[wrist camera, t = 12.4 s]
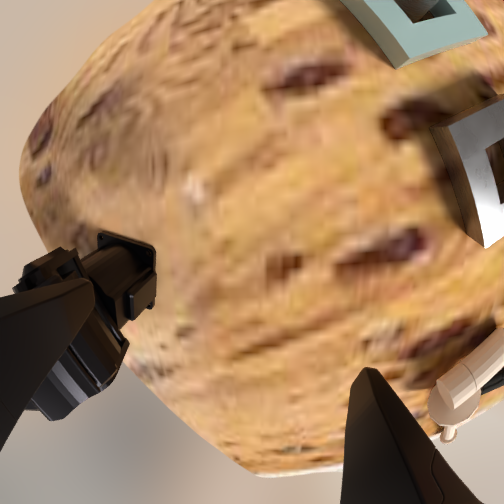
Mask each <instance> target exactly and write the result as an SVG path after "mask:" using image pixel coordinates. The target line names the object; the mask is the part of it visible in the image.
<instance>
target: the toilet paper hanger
mask: <svg viewBox="0 0 504 504" xmlns="http://www.w3.org/2000/svg"><path fill="white" fill-rule="evenodd" d="M503 366H504V328H501V327H498V328H497V329H496V330H494V331H493V332H492V333H491V334H490V335H489V336H488V337H487V338H486V339H485V340H484V341H483V342H482V343H481V344H480V345H479V346H478V347H476V348H475V349H474V350H473V351H472V352H471V353H470V354H469V355H467V356H466V357H465V358H464V359H463V360H461V361H460V362H459V363H458V364H457V365H455V366H454V367H453V368H451V369H450V370H449V371H448V372H446V373H445V374H444V375H442V376H441V377H440V378H438V379H437V381H436V383H437V384H436V385H435V387H434V388H433V389H432V390H431V393H430V396H429V399H428V402H427V406H428V410H429V415H430V418H431V419H432V420H434V421H435V422H436V423H437V424H438V425H439V426H444V431H442V432H441V435H440V441H441V442H442V443H443V444H449V443H451V442H453V441H454V440H455V439H456V435H457V430H456V425H459V424H461V423H463V422H465V421H467V420H468V419H469V418H470V417H471V416H472V414H473V413H474V412H475V411H476V409H477V408H478V405H479V401H480V396H481V389H480V388H481V387H482V386H483V385H484V384H486V383H487V382H488V381H489V380H490V379H491V378H492V377H493V376H494V375H495V374H496V373H497V372H498V371H499V370H500V369H501V368H502V367H503Z"/></svg>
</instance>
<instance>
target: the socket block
mask: <svg viewBox="0 0 504 504" xmlns="http://www.w3.org/2000/svg"><path fill="white" fill-rule="evenodd" d="M429 129H430V131H431V134H432V136H433V138H434V140H435V142H436V145H437V147H438V149H439V151H440V154H441V156H442V159H443V161H444V164H445V166H446V169H447V171H448V174H449V177H450V180H451V182H452V185H453V188H454V191H455V194H456V197H457V200H458V204H459V207H460V210H461V214H462V217H463V221H464V225H465V229H466V233H467V235H468V236H469V237H471V238H472V239H474V240H475V241H476V242H478V243H479V244H480V245H482V246H483V247H484V248H487V247H488V246H490V245H491V244H493V243H494V242H495V241H497V240H498V239H500V238H501V237H502V236H504V181H502V182H501V183H499V184H498V185H496V184H495V180H494V176H493V173H492V169H491V166H490V163H489V160H488V157H487V154H486V151H485V148H487V147H489V146H490V145H492V144H494V143H496V142H497V141H499V144H500V147H501V150H502V153H503V156H504V94H499V95H496V96H494V97H492V98H490V99H487V100H485V101H483V102H481V103H479V104H477V105H475V106H473V107H470V108H468V109H466V110H464V111H462V112H460V113H458V114H456V115H454V116H452V117H450V118H448V119H446V120H444V121H442V122H440V123H437V124H435V125H433V126H431V127H429Z"/></svg>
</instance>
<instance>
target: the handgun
mask: <svg viewBox="0 0 504 504" xmlns="http://www.w3.org/2000/svg"><path fill="white" fill-rule="evenodd" d="M503 385H504V368H503V369H501V370H500V371H498V372H497V373H496V374H495V375H494V376H493V377H492V378H491V379H490V380H489V381H488V382H487V383H486V384H484V385H483V386H482V387H481V388H480V389H481V395H483V394H485V393H488V392H490V391H492V390H494V389H497V388H499V387H501V386H503Z"/></svg>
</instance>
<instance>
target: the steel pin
mask: <svg viewBox="0 0 504 504" xmlns="http://www.w3.org/2000/svg"><path fill="white" fill-rule="evenodd" d="M394 1H395V3H396V4H397V5H398V6H399V7H400V8H401V9H402V11H403V12H404V13H405V14H406V15H407V17H408V18H409V19H410V20H411V22H412V23H417V22H418V21H419V20H420V19H421V18H422V17H423V16H424V15H425V14H426V13H427V12H428V11H429V10H430V9H431V8H432V7H433V6H434V5H435V4H436V3H437V2H438V1H439V0H394Z"/></svg>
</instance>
